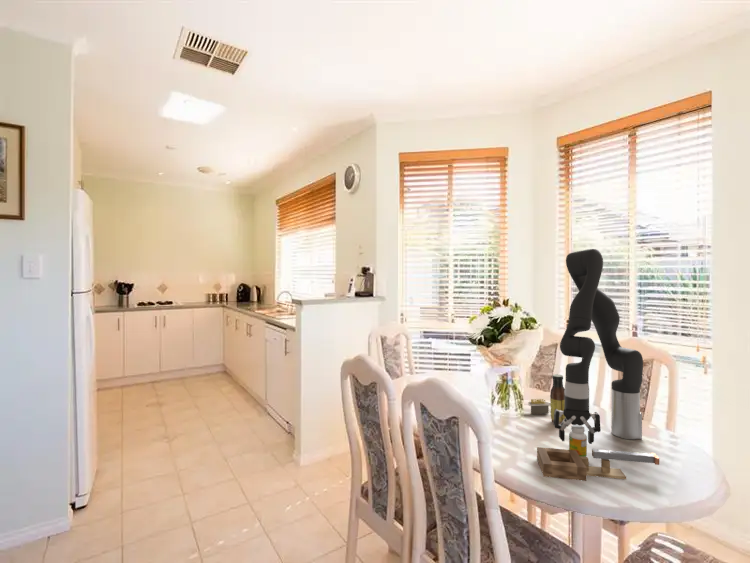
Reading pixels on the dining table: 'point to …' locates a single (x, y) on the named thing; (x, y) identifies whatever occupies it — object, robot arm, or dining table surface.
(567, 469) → the socket
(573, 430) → the supplement bottle
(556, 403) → the sauce bottle
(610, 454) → the grey bar
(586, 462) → the mount
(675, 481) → the dining table surface
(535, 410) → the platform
